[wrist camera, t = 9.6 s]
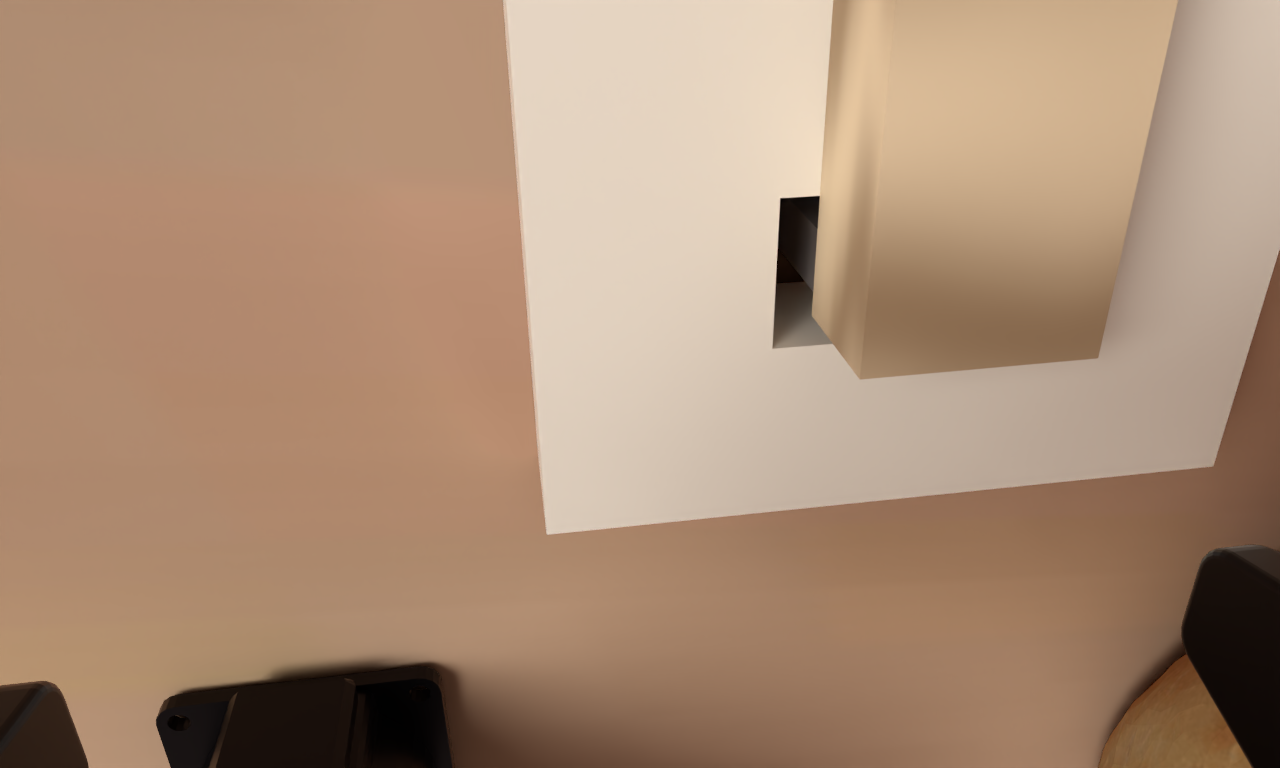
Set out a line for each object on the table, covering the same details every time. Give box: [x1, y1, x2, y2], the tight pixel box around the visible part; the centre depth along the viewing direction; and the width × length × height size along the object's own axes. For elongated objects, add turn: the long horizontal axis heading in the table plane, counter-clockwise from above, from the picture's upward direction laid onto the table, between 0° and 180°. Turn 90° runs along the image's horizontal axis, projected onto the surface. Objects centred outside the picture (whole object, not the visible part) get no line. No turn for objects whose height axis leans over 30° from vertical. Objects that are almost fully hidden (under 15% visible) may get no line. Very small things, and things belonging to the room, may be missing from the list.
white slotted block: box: [503, 0, 1280, 535], centre depth 19 cm, size 10×14×3 cm
